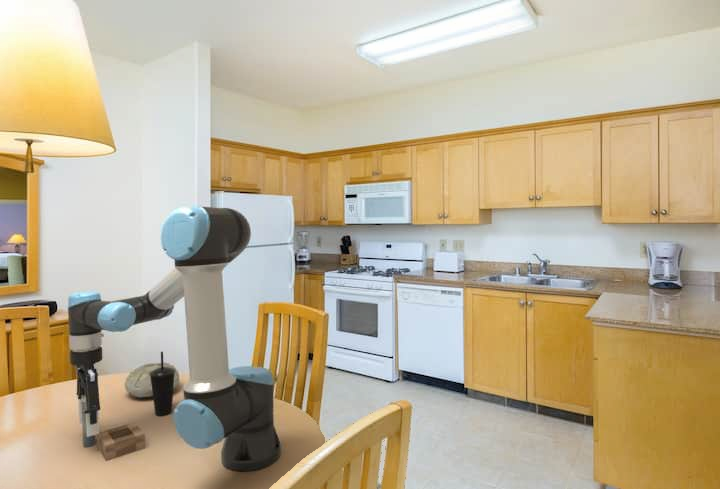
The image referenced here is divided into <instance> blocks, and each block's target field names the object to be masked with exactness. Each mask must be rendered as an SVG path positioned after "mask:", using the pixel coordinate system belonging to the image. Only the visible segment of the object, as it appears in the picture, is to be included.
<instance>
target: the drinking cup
mask: <svg viewBox="0 0 720 489" xmlns="http://www.w3.org/2000/svg"><path fill="white" fill-rule="evenodd" d="M160 363H161V367H159V368H157V369H155V370H153V371H151V372H150V373H149V375H150V377H151V385H152V392H153V396H152V399H153V406H154V414H155V416H157V417H165V416H168V415H170V414H172V412H173V401H174V400H173V398H174V389H173V386H174V373H175V369H174V368H170V367H163V363H164V351H160Z"/></svg>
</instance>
